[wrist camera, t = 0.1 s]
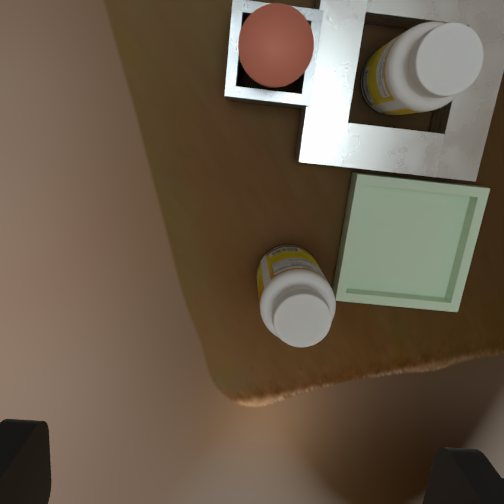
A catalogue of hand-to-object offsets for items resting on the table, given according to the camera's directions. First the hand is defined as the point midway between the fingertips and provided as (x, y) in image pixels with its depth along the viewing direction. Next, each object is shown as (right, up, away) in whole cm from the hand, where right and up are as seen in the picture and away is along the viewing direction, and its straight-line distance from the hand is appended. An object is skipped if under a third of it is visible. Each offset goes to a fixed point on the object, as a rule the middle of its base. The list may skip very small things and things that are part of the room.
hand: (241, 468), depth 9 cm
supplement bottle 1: (+3, +3, +30) cm, 30 cm away
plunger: (+2, +18, +22) cm, 29 cm away
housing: (+8, +18, +25) cm, 32 cm away
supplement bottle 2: (+11, +18, +25) cm, 33 cm away
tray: (+14, +5, +29) cm, 32 cm away
